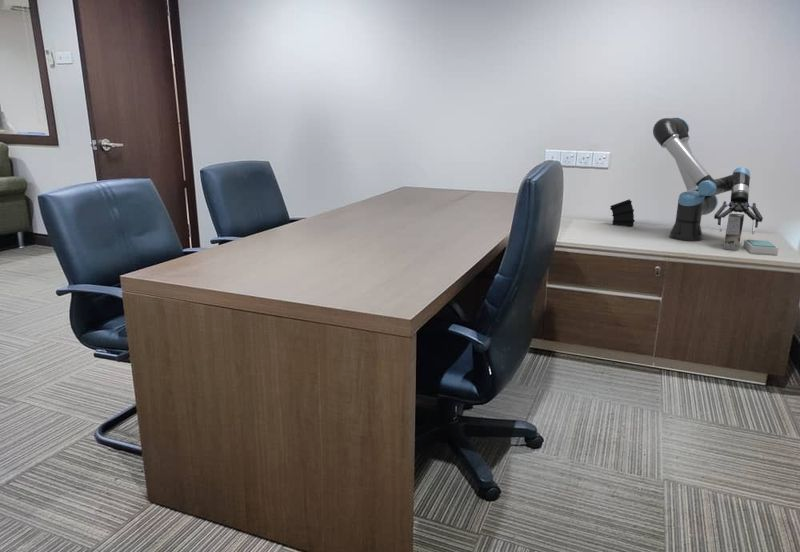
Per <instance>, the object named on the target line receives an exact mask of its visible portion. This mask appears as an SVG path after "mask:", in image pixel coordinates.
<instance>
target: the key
mask: <svg viewBox="0 0 800 552" xmlns="http://www.w3.org/2000/svg"><path fill="white" fill-rule="evenodd" d="M747 242H749V243H750V244H751V245H752V246H759V247H775V248H776V247H777V246H776V245H775V244H773V242H771V241H770V240H759V239H747ZM770 242H771V243H770Z"/></svg>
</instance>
